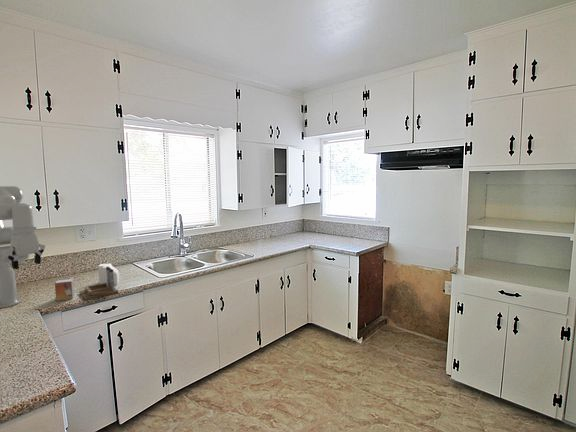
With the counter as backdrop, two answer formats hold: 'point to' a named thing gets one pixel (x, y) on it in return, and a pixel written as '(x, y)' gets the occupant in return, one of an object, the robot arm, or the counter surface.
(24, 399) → the counter surface
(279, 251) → the counter surface
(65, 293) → the small box
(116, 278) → the corner bracket
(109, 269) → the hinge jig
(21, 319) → the counter surface
